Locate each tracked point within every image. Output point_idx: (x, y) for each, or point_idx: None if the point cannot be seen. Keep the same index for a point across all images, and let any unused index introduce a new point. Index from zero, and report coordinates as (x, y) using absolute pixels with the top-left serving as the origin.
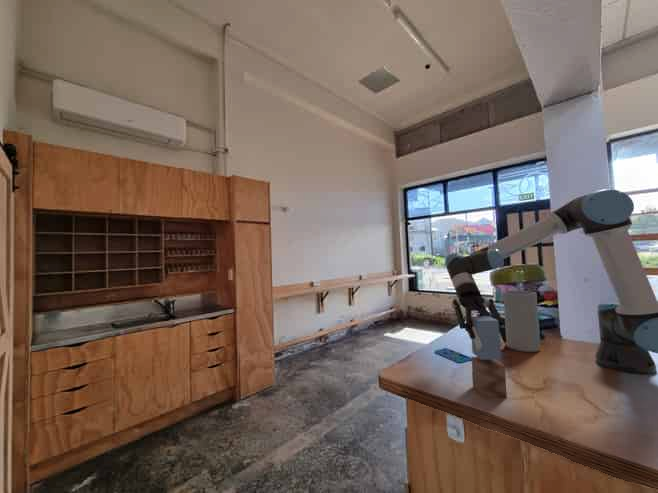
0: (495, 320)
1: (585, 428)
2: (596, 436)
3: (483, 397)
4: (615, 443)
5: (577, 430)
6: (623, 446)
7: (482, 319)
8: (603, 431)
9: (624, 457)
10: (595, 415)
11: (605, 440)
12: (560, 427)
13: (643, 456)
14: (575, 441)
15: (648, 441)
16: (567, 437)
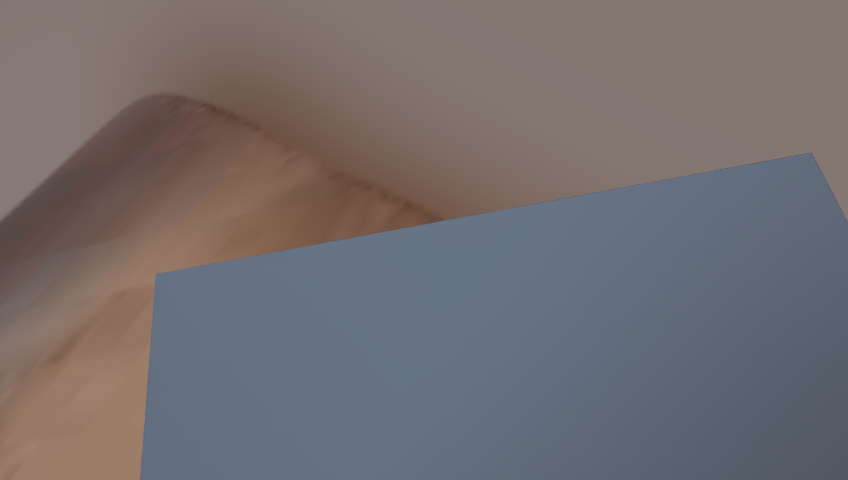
0: (241, 263)
1: (187, 245)
2: (188, 198)
3: None
4: (155, 170)
5: (232, 223)
6: (142, 160)
7: (635, 375)
8: (131, 237)
9: (192, 105)
10: (50, 365)
11: (175, 180)
12: (290, 231)
13: (127, 123)
14: (293, 151)
15: (25, 207)
16: (307, 168)
